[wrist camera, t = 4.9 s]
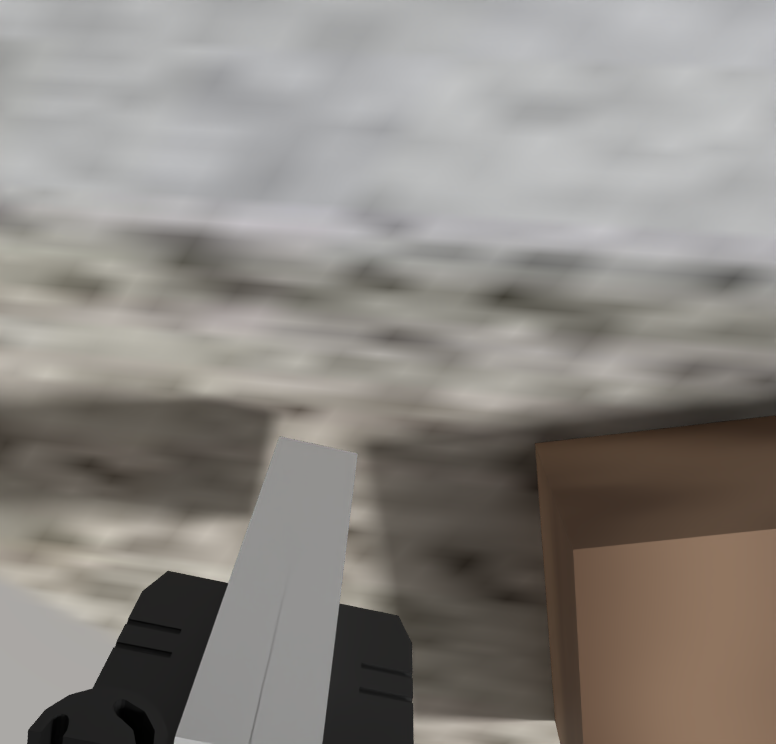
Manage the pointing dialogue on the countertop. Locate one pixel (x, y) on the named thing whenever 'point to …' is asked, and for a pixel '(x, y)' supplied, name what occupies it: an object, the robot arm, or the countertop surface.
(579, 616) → the dark brown block
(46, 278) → the countertop surface
